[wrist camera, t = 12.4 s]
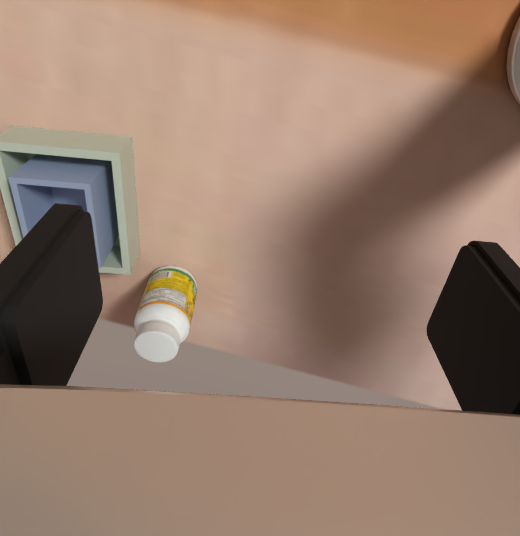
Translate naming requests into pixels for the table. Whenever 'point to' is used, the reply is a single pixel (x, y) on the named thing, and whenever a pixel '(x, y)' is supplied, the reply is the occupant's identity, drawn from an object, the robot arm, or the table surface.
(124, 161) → the large crate
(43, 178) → the small crate
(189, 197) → the table surface
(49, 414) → the robot arm
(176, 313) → the supplement bottle
